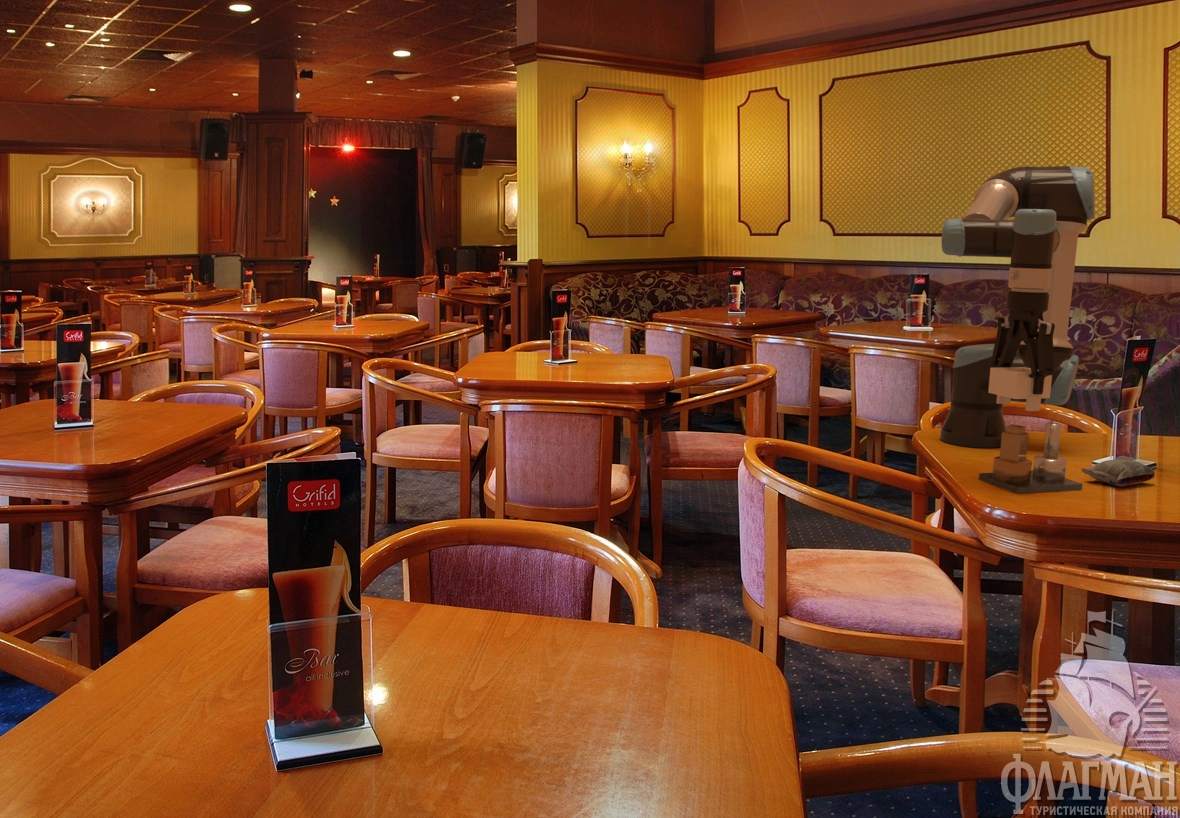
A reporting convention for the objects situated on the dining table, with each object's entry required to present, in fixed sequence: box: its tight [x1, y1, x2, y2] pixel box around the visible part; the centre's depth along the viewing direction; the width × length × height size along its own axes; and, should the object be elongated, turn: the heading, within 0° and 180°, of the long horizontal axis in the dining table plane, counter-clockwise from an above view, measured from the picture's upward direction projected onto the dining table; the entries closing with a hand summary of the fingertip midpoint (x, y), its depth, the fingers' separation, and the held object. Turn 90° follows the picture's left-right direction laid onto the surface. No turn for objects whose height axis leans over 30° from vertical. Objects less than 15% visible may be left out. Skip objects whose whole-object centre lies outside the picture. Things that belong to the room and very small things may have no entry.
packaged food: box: [1081, 458, 1155, 488], centre depth 219 cm, size 9×12×5 cm
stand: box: [1032, 422, 1068, 481], centre depth 216 cm, size 6×6×11 cm
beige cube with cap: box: [988, 367, 1052, 399], centre depth 211 cm, size 8×8×5 cm
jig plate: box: [978, 469, 1084, 495], centre depth 216 cm, size 15×12×1 cm
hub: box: [992, 424, 1033, 484], centre depth 214 cm, size 7×7×11 cm
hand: (1017, 406), depth 212 cm, fingers closed on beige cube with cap, 8 cm apart
